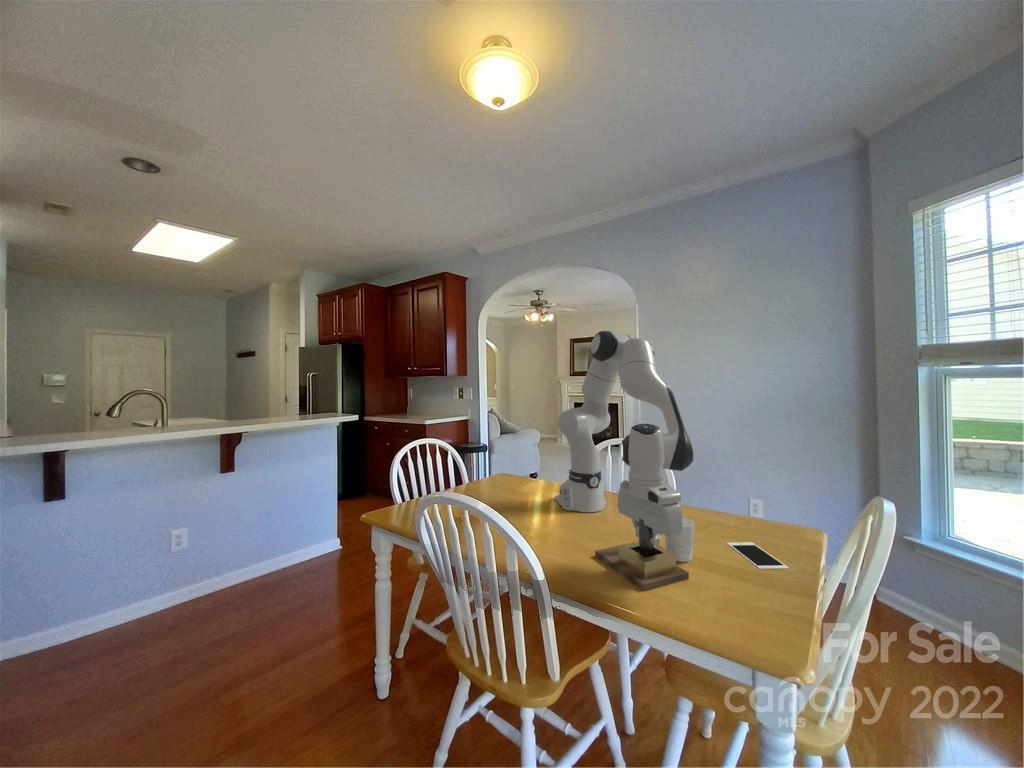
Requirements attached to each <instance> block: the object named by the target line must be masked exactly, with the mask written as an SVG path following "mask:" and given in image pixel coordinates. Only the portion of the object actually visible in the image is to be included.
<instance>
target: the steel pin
mask: <svg viewBox="0 0 1024 768" xmlns="http://www.w3.org/2000/svg"><path fill="white" fill-rule="evenodd" d="M653 535H654V533H653V529H652V528H650V527H648V526H646V525H645V524H644V520H642V519H640V518H639V538H638V542H639V554H640V555H642V556H644V557H645V558H646V557H650V556H654V555H656V550H655V546H653V545H651V544H650V538H651V537H653Z"/></svg>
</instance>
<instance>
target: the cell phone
mask: <svg viewBox="0 0 1024 768" xmlns="http://www.w3.org/2000/svg"><path fill="white" fill-rule="evenodd" d="M726 545H727V546H729V547H730V548H731V549H732V550H735V552H737V553H738V554H739V555H741V557H742V558H744V559H746V560H747V561H748V562H750V563H751V565H754V566H755V567H756V568H757V569H759V570H789V569H790V568H789V566H787V565H785V563H783V562H781V561H780V560H779V559H777V558H775V556H773V555H771V554H769V552H767V551H765V550H764V549H763V548H761V547H760V546H759V545H757V544H756V543H754V542H750V541H748V542H746V541H745V542H743V541H742V542H741V541H740V542H726Z"/></svg>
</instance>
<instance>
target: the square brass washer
mask: <svg viewBox="0 0 1024 768" xmlns="http://www.w3.org/2000/svg"><path fill="white" fill-rule="evenodd" d="M631 543H632V544H628V543H626V544H627V545H624V544H622V545H623V546H619V545H618V546H619V562H621V563H622V564H624V565H625V566H626V567H628V568H629V569H631V570H632V571H634V572H635V573H637V574H638V575H640V576H641V577H643V578H644V579H646V578H650V577H654V576H658V575H661V574H665V573H669V572H673V571H676V566H677V561H676V554H674V553H672V552H670V551H668V550H666V548H664V547H663V546H661V545H659V546H655V550H656V555H654V556H650V557H646V558H645V557H644V556H642V555H640V554H639V541H638V542H637V541H636V543H633V542H631Z"/></svg>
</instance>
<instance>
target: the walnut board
mask: <svg viewBox="0 0 1024 768" xmlns="http://www.w3.org/2000/svg"><path fill="white" fill-rule="evenodd" d="M632 543H637V541H636V542H635V541H633V542H628V543H624V544H620V545H619V544H618V545H616V546H611V547H606V548H601V549H597V550H595V551H594V556H595V557H596V558H597V559H599V560H600V561H602V562H603V563H604V564H606V565H607V566H608V567H610V568H612V569H613V570H614V571H616V572H617V573H619V574H620V575H621V576H623V577H624V578H625V579H627V580H628V581H629V582H631V583H632V584H634V585H635V586H636V587H638V588H639V589H641V590H642V591H645V592H646V591H648V590H652V589H655V588H659V587H663V586H666V585H670V584H674V583H677V582H681V581H684V580H685V581H686V580H689V579H690V573H689V571H687V570H685V569H684V568H682V567H680V566H678V565H676V571H673V572H669V573H665V574H661V575H658V576H654V577H650V578H646V579H644V578H643V577H641V576H640V575H638V574H637V573H635V572H634V571H632V570H631V569H629V568H628V567H626V566H625V565H624V564H622V563H621V562H619V546H623V545H627V544H632Z"/></svg>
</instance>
